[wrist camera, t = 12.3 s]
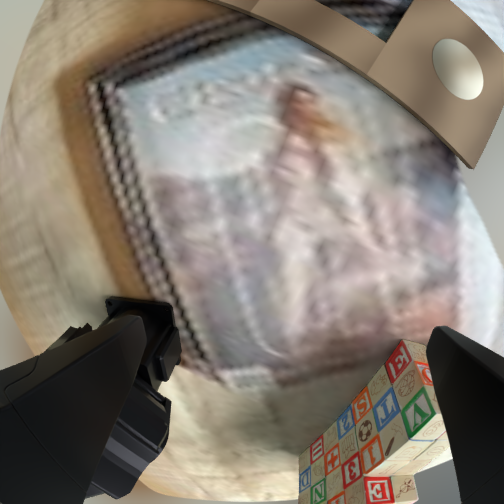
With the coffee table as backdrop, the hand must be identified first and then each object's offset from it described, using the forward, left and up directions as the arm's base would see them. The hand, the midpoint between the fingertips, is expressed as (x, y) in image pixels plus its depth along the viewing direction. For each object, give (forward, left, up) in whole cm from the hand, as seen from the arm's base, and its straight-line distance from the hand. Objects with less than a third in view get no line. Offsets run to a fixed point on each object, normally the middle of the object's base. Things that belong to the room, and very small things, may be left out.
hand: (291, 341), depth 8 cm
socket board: (+4, +18, -13) cm, 23 cm away
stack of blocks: (+10, -21, -13) cm, 27 cm away
